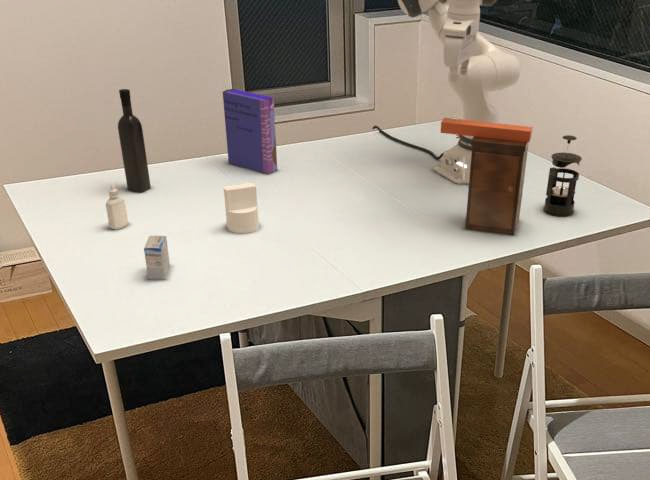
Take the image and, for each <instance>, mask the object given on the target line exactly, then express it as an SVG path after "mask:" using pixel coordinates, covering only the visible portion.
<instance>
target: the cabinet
mask: <svg viewBox="0 0 650 480" xmlns="http://www.w3.org/2000/svg"><path fill="white" fill-rule="evenodd" d="M529 144H530V142H521V141H511V140H502V139H493V138H484V137H473V139H472V140H471V146H472V154H471V166H470V178H469V184H468V190H467V191H468V192H467V202H466V203H467V204H466V214H465V215H466V216H465V227H464V230H470V231H476V232H477V231H478V232H485V233H491V234H492V233H493V234H500V235H507V236H515V234H516V231H517V228H518V225H519V222H520V215H521V207H522V200H523V192H524V183H525V175H526V169H527V159H528V151H529Z"/></svg>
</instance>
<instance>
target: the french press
mask: <svg viewBox="0 0 650 480" xmlns="http://www.w3.org/2000/svg"><path fill="white" fill-rule="evenodd" d="M561 138H562V139H563V140H566V141H567V142H566V143H567V147H566V152H554V153H552V154H551V159H552V161H551V164H552V165H553V166H554V167H550V168H549V171H548V179H547V185H546V192H545V193H546V194H545V195H546V198H545V200H544V206H543V208H542V209H543V210H542V211H543V212H544V213H545V214H546V215H549V216H553V217H559V218H564V217H570V216H572V215H574V212H575V210H574V209H575V204H576V203H575V194H576V186H577V182H578V181H579V180H580V179H579V178H580V173H579V172H578V171H576V170H575V169H570V168H567V167H568V166H569V165H571V164H577V166H580V164H581V163H580V162H582V160H583V158H582V157H581V156H580V155H578V154H576V153H572V152H569V150H570V149H569V148H570V144H571V141H576V140H577V139H578V138H577V137H576V136H575V135H570V134H569V135H568V134H566V135H563V136H562V137H561ZM560 173H562V177H560V176H559V174H560ZM566 174H569V175H572V177H565V175H566ZM558 182H559V183H561V186H560V185H557V184H558ZM564 183H566V184H567V183H568V187H567V186H564Z"/></svg>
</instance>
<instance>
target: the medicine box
mask: <svg viewBox="0 0 650 480" xmlns="http://www.w3.org/2000/svg"><path fill="white" fill-rule="evenodd" d="M168 247H169V245H168V239H167V236H166V235H149V236H148V238H147V240H146V242H145V245H144V248H143V252H144V260H145V266H146V274H147V278H148V280H166V278H167V275H168V272H169V269H170V267H171V266H170V265H171V264H170V256H169V248H168Z"/></svg>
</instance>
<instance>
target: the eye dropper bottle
mask: <svg viewBox="0 0 650 480" xmlns="http://www.w3.org/2000/svg"><path fill="white" fill-rule="evenodd" d="M108 196H109V198H108V200H106V202H105V210H106V215H107V220H108V227H109V228H110V229H111V230H115V231H116V230H120V229H123V228H125V227H127V226H128V225H129V218H128V212H127V207H126V201H125V199H124V198H123V197H121V196H119V190H118V189H117V188H115V186H114V184H112V185H110V189H109V190H108Z"/></svg>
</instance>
